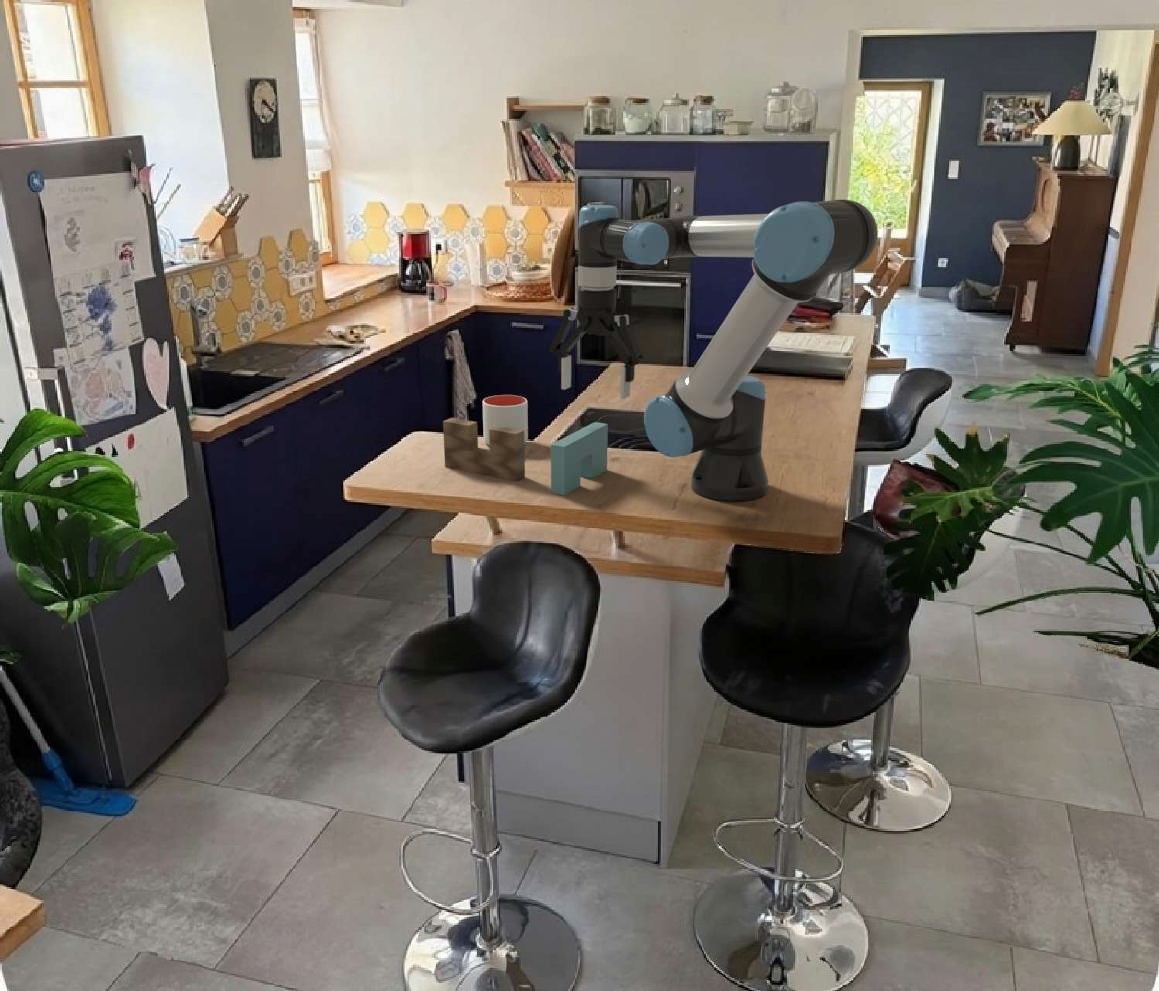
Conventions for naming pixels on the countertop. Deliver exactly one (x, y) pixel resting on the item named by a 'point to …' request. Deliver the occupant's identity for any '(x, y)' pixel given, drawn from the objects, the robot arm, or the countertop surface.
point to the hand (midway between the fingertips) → (595, 392)
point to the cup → (505, 414)
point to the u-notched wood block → (484, 450)
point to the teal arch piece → (578, 457)
